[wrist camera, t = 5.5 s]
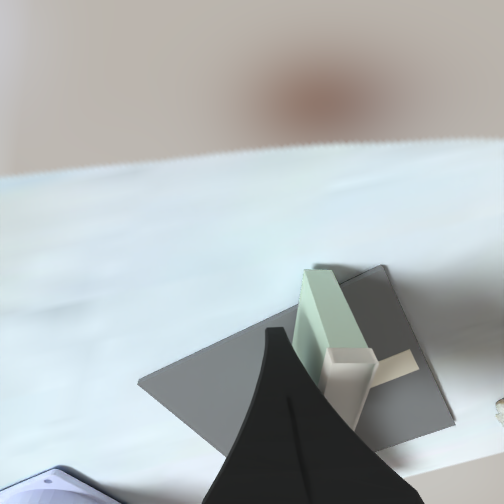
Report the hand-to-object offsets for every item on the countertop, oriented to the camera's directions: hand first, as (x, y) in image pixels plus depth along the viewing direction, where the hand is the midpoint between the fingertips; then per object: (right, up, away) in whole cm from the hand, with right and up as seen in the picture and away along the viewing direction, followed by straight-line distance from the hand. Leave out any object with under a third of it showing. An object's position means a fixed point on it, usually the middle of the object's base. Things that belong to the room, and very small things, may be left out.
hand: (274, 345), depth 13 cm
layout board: (+2, -5, +6) cm, 9 cm away
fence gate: (+2, -1, +3) cm, 4 cm away
